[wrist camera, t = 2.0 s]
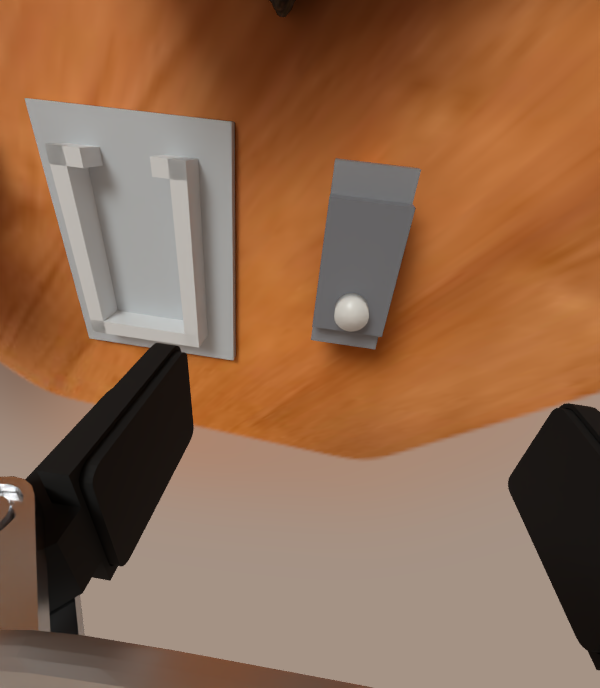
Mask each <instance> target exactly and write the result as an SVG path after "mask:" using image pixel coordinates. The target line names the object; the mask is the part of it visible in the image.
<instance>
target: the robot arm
mask: <svg viewBox="0 0 600 688" xmlns="http://www.w3.org/2000/svg"><path fill="white" fill-rule="evenodd" d="M192 434H193V415H192V404H191V393H190V382H189V371H188V360H187V354H186V353H185V352H181V349H180V347H179V346H176V345H170V344H163V343H155V344H153V345H152V346H151V347H150V349H149V350H148V351H147V352H146V353H145V354H144V355H143V356H142V357H141V358H140V359H139V360H138V361H137V363H136V364H135V365H134V366H133V367H132V368H131V369H130V370H129V371H128V372H127V373H126V374H125V375H124V377H123V378H122V379H121V380H120V381H119V382H118V383H117V384H116V385H115V386H114V387H113V388H112V389H111V390H110V391H108V392H107V393H106V394H105V395H104V396H103V397H102V398H101V399H100V400H99V401H98V402H97V404H96V405H95V406H94V407H93V408H92V409H91V410H90V411H89V412H88V413H87V414H86V415H85V416H84V418H83V419H82V420H81V421H80V422H79V423H78V424H77V425H76V426H75V427H74V428H73V429H72V431H70V433H69V434H68V435H67V436H66V437H65V438H64V439H63V440H62V441H61V442H60V443H59V444H58V445H57V446H56V447H55V449H53V451H52V452H51V453H50V454H49V455H48V456H47V457H46V458H45V459H44V460H43V461H42V462H41V464H40V465H39V466H38V467H37V468H36V469H35V470H34V471H33V472H32V473H31V474H30V475H29V476H28V477H27V478H26V479H22V478H17V477H14V476H13V477H12V476H10V477H0V688H372V687H367V686H361V685H356V684H351V683H346V682H340V681H335V680H330V679H325V678H319V677H314V676H309V675H303V674H298V673H293V672H287V671H282V670H276V669H271V668H265V667H260V666H255V665H250V664H244V663H239V662H234V661H228V660H223V659H217V658H212V657H206V656H201V655H196V654H190V653H185V652H179V651H174V650H168V649H162V648H156V647H150V646H144V645H138V644H132V643H126V642H120V641H114V640H108V639H101V638H95V637H89V636H85V635H84V626H83V617H82V609H81V600H80V594H82V593H83V591H84V590H85V588H86V586H87V584H88V583H89V581H90V579H91V578H92V577H94V578H100V579H105V580H111V578H112V576H113V574H114V573H115V571H116V569H117V567H118V566H124V565H125V564H126V563H127V561H128V560H129V558H130V556H131V555H132V553H133V551H134V549H135V547H136V545H137V543H138V541H139V539H140V537H141V535H142V533H143V531H144V529H145V528H146V526H147V524H148V522H149V520H150V518H151V516H152V514H153V512H154V510H155V508H156V506H157V504H158V502H159V500H160V498H161V496H162V494H163V492H164V491H165V489H166V487H167V485H168V483H169V481H170V479H171V477H172V475H173V473H174V471H175V469H176V467H177V465H178V463H179V461H180V459H181V458H182V456H183V453H184V452H185V450H186V448H187V446H188V444H189V442H190V440H191V437H192ZM508 487H509V491H510V494H511V496H512V498H513V500H514V502H515V505H516V507H517V509H518V511H519V513H520V515H521V518H522V520H523V522H524V524H525V526H526V528H527V531H528V533H529V535H530V537H531V539H532V542H533V543H534V546H535V548H536V550H537V553H538V555H539V557H540V559H541V561H542V564H543V566H544V568H545V570H546V572H547V574H548V576H549V579H550V581H551V583H552V585H553V588H554V590H555V592H556V594H557V596H558V598H559V601H560V603H561V605H562V607H563V609H564V612H565V614H566V616H567V618H568V620H569V623H570V624H571V627H572V629H573V631H574V633H575V636H576V638H577V639H578V641H579V643H580V644H581V645H582V646H583V647H584V648H585V649H586V650H588V652H589V655H590V657H591V659H592V661H593V663H594V665H595V667H596V669H597V670H600V412H599V411H598V410H597V409H595V408H593V407H588V406H582V405H575V404H563V405H562V406H560V407H559V408H556V409H554V410H553V411H552V412H551V414H550V415H549V417H548V418H547V420H546V421H545V423H544V425H543V426H542V428H541V429H540V431H539V432H538V434H537V435H536V437H535V439H534V440H533V441H532V443H531V445H530V446H529V448H528V449H527V451H526V453H525V454H524V455H523V457H522V458H521V460H520V462H519V463H518V465H517V466H516V468H515V469H514V471H513V472H512V474H511V476H510V477H509V481H508Z"/></svg>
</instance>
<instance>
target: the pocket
mask: <svg viewBox="0 0 600 688" xmlns="http://www.w3.org/2000/svg"><path fill="white" fill-rule="evenodd" d="M25 102H26V105H27V109H28V113H29V116H30V120H31V124H32V128H33V131H34V135H35V139H36V142H37V146H38V150H39V154H40V157H41V161H42V165H43V168H44V172H45V176H46V179H47V183H48V187H49V191H50V194H51V198H52V202H53V205H54V209H55V213H56V216H57V220H58V224H59V228H60V231H61V235H62V239H63V242H64V246H65V250H66V253H67V257H68V261H69V265H70V268H71V272H72V276H73V279H74V283H75V287H76V290H77V294H78V298H79V302H80V305H81V309H82V313H83V316H84V320H85V324H86V328H87V331H88V335H89V338H91V339H97V340H104V341H110V342H117V343H123V344H130V345H136V346H143V347H149V348H150V347H151V346H152V345H153V344H155V343H163V344H170V345H176V346H179V347H180V349H181V352H185V353H188V354H195V355H201V356H208V357H214V358H221V359H227V360H234V358H235V357H236V331H235V122H230V121H222V120H213V119H204V118H195V117H187V116H178V115H169V114H160V113H152V112H143V111H134V110H125V109H117V108H108V107H99V106H91V105H82V104H73V103H64V102H56V101H47V100H38V99H29V98H25Z"/></svg>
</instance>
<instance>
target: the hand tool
mask: <svg viewBox="0 0 600 688" xmlns="http://www.w3.org/2000/svg"><path fill="white" fill-rule="evenodd" d="M269 1H271V2H272V5H273V7H274V9H275V11H276V13H277V15H279V16H280V17H286V16H287V14H288V13H289V12H290V11H291V8H292V6H293V4H294V1H295V0H269Z"/></svg>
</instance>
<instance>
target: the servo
mask: <svg viewBox="0 0 600 688" xmlns="http://www.w3.org/2000/svg"><path fill="white" fill-rule="evenodd" d="M420 172H421V169H419V168H413V167H404V166H396V165H387V164H379V163H371V162H362V161H354V160H345V159H337V158H336V159H335V165H334V172H333V180H332V187H331V194H330V197H329V205H328V213H327V220H326V228H325V235H324V243H323V250H322V258H321V265H320V273H319V281H318V288H317V296H316V303H315V311H314V318H313V326H312V327H313V330H312V337H311V340H315V341H322V342H329V343H336V344H342V345H349V346H356V347H362V348H369V349H375V348H376V344H377V340H378V336H379V337H382V334H383V330H384V326H385V323H386V319H387V315H388V311H389V307H390V303H391V300H392V296H393V292H394V288H395V284H396V281H397V277H398V273H399V269H400V265H401V261H402V258H403V254H404V250H405V246H406V242H407V238H408V235H409V231H410V227H411V223H412V219H413V215H414V212H415V207H414V205H413V204H412V203H413V199H414V195H415V191H416V187H417V183H418V180H419V176H420Z"/></svg>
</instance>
